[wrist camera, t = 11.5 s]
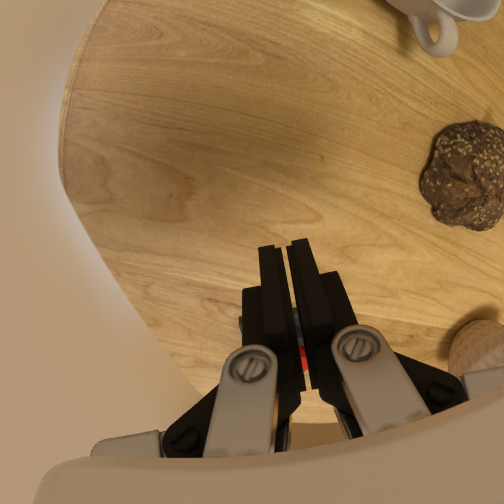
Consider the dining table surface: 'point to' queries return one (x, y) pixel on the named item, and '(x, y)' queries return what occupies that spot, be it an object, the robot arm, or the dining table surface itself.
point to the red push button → (303, 358)
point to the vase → (477, 347)
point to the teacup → (443, 20)
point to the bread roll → (467, 176)
